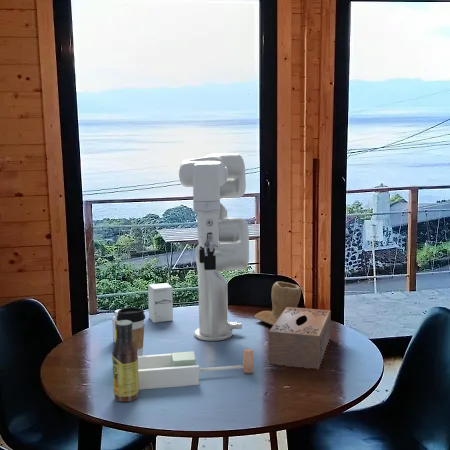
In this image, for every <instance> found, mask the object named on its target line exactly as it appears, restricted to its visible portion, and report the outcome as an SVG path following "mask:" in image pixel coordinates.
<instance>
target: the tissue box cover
mask: <svg viewBox="0 0 450 450" xmlns="http://www.w3.org/2000/svg"><path fill="white" fill-rule="evenodd" d="M331 314H332V311H331V309H330V310H329V309H318V308H317V309H316V308H315V309H314V308H304V307H296V308H293V307H286V308H285V310H284V311H283V313H282V314H281V315H280V317H279V318H278V319H277V321H276V322H275V324H274V325H271V328H270V329H269V331H268V365H274V364H276V365H275V366H283V365H285V366H284V367H292V366H293V368H294V367H295V368H301V367H304V368H303V369H310V368H317V369H316V370H319V369H320V368H319V367H321V365H320V364H322V362H323V360H322V358H323V359H324V357H325V355H324V353H325V354H326V352H325V350H326V351H327V349H326V347H327V345H328V346H329V344H328V342H329V343H330V341H329V339H330V340H331V326H332V325H331V324H332V323H331V321H332V320H331V318H332V317H331V316H332V315H331ZM327 348H328V347H327ZM323 356H324V357H323ZM321 361H322V362H321Z"/></svg>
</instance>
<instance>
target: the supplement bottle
mask: <svg viewBox="0 0 450 450" xmlns="http://www.w3.org/2000/svg"><path fill="white" fill-rule="evenodd" d="M121 309H122V308H120V309H116V310H114V316H113V317H112V339H113V342H114V344H115V343H116V340H117V339H116V338H117V329H116V322H118V321H117V316H118V311H119V310H121Z"/></svg>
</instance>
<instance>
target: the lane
mask: <svg viewBox="0 0 450 450" xmlns="http://www.w3.org/2000/svg"><path fill="white" fill-rule="evenodd" d="M193 353H194V354H195V352H194V351H193ZM199 369H200V366H199V364H198V365H197V364H196V365H191V366H178V367H172V360H171V353H160V354H159V353H158V354H148V355H144V354H143V356H138V381H139V391H142V390H151V389H164V388H165V389H166V388H176V387H187V386H199V385H200V372H199Z"/></svg>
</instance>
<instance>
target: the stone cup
mask: <svg viewBox="0 0 450 450" xmlns="http://www.w3.org/2000/svg"><path fill="white" fill-rule="evenodd" d="M270 295H271V303H272V305H271V306H272V309H271V310H262V311H259V312H258V313H256V314H255V315H254V318H255V319H256V320H259V321H260V322H261V321H262V322H264V323H266V324H267V325H268V324H269V325H271V326H273V325H274V324H275V322H276V321H277V319H278V318H279V317H280V315H281V314H282V313H283V311H284V310H285V308H286V307H293V308H298V304H299V303H300V298H301V295H302V289H301V287H300V286H299V285H298V284H294V283H290V282H285V281H276V282H274V283H273V285H272V287H271V294H270Z"/></svg>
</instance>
